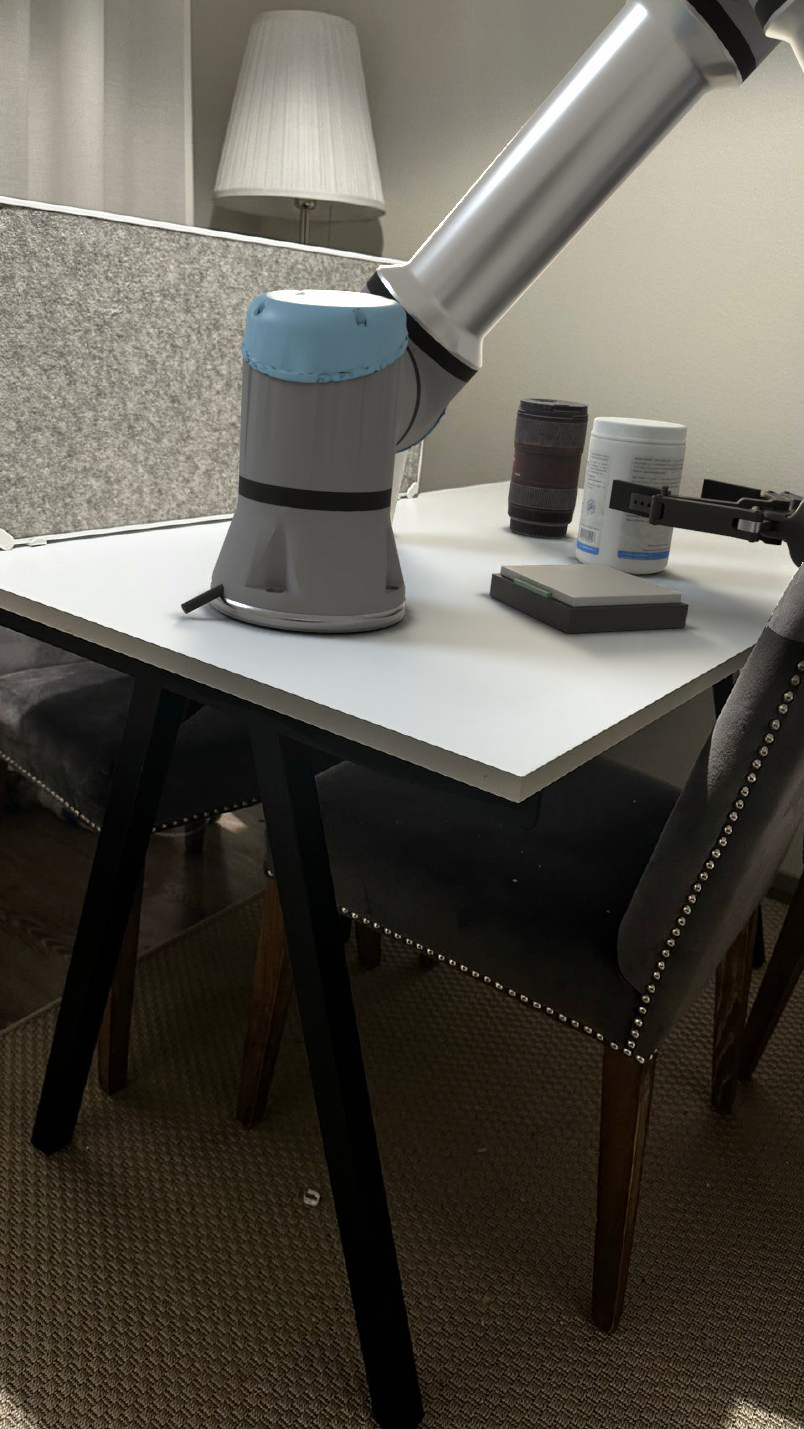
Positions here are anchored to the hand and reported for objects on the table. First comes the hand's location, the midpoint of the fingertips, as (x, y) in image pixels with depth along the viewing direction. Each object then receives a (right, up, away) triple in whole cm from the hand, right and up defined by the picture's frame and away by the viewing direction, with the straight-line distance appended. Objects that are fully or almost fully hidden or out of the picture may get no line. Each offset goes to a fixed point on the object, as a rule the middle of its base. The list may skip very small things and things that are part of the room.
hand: (659, 492), depth 109 cm
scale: (-10, -13, -15) cm, 22 cm away
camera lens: (-10, -1, +20) cm, 22 cm away
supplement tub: (-3, -7, +5) cm, 9 cm away
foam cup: (-30, -3, +10) cm, 32 cm away
